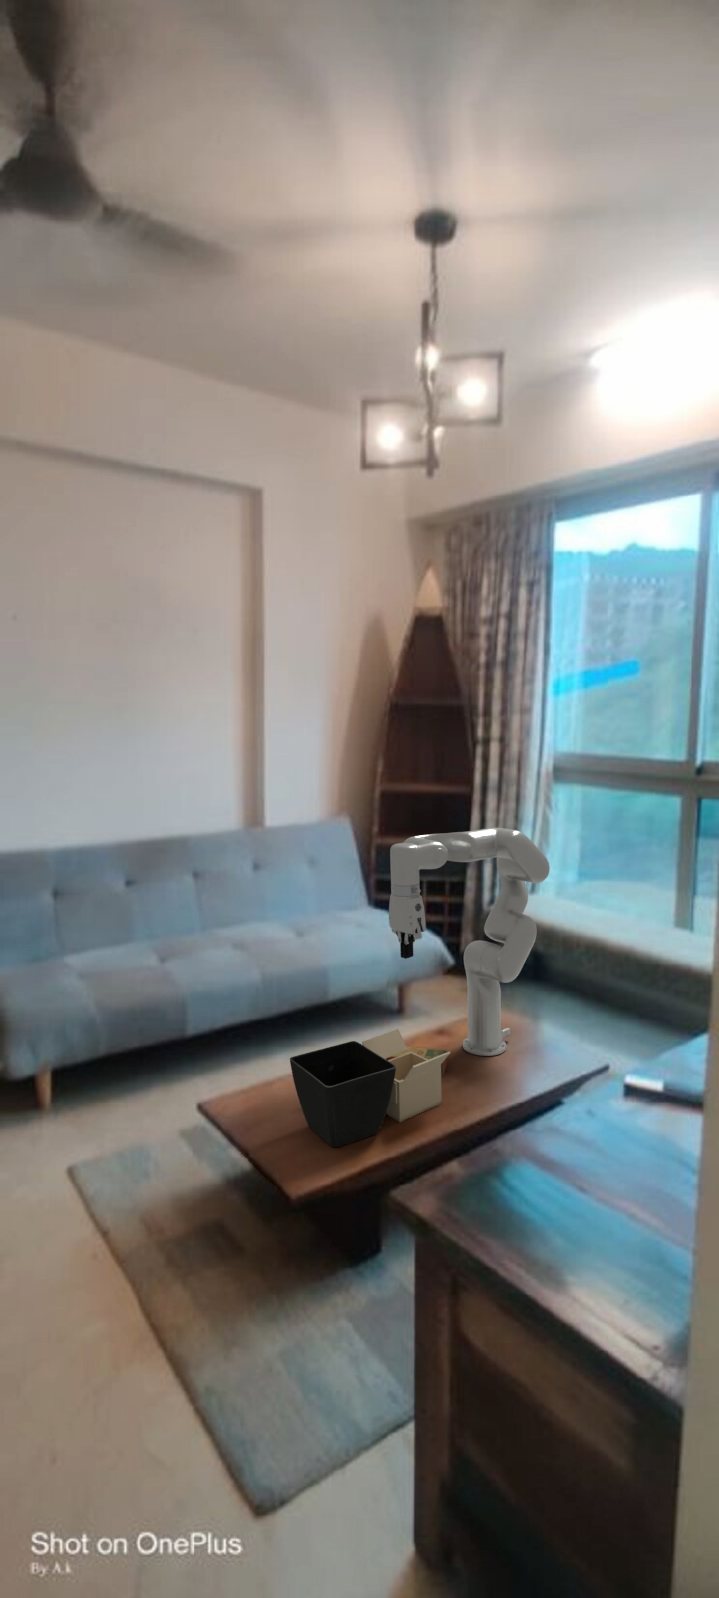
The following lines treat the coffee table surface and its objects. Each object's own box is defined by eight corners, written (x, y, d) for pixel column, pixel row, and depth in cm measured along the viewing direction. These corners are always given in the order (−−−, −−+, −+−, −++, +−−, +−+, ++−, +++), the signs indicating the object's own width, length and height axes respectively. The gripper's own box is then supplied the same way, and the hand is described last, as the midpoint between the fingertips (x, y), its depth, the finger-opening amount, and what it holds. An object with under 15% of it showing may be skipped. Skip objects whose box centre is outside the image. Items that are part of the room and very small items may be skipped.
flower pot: (356, 1102, 200) (354, 1038, 199) (399, 1134, 185) (398, 1065, 183) (289, 1124, 190) (287, 1057, 189) (329, 1160, 175) (327, 1087, 173)
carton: (392, 1058, 226) (392, 1044, 226) (448, 1063, 222) (448, 1049, 222) (385, 1070, 218) (385, 1056, 218) (443, 1076, 214) (443, 1061, 214)
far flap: (407, 1049, 206) (407, 1050, 206) (398, 1028, 208) (397, 1029, 208) (371, 1063, 198) (371, 1063, 198) (362, 1041, 200) (361, 1042, 201)
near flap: (449, 1051, 193) (450, 1052, 193) (439, 1064, 197) (440, 1065, 197) (412, 1066, 186) (413, 1067, 186) (402, 1079, 189) (403, 1080, 189)
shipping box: (413, 1087, 207) (412, 1051, 206) (442, 1102, 199) (442, 1064, 198) (369, 1106, 198) (368, 1068, 197) (398, 1123, 190) (397, 1083, 189)
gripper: (435, 892, 206) (436, 960, 208) (397, 883, 218) (398, 948, 220) (414, 896, 201) (416, 966, 203) (376, 887, 213) (378, 954, 215)
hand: (407, 956), depth 212 cm, fingers closed
